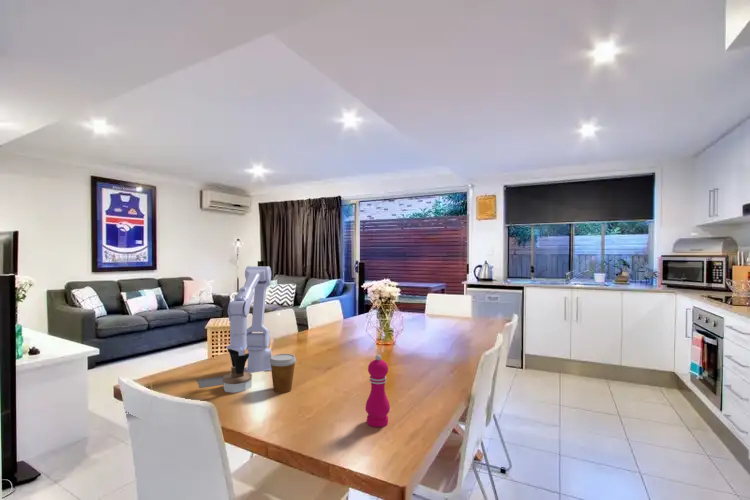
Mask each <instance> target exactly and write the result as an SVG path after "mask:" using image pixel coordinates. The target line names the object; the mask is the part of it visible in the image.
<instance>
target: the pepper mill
mask: <svg viewBox="0 0 750 500" xmlns="http://www.w3.org/2000/svg"><path fill="white" fill-rule="evenodd" d="M367 372H368V374H369V375H370V376H369V382H370V385H371V386H370V387H371V388H370V392H369V396H367V400H366V403H365V412H366V414H367V415H366V423H367V425H368V426H370V427H372V428H382V427H385V426H387V425H388V424H389V416H388V414H389V413H390V410H391V408H390V401H389V398H388V396H387V395H386V390H385V389H386V388H385V385H386V383H387V376H386V375H387V374H388V373H389V366H388V363H387V362H386V361H385V360H382V356H381V354H376V355H375V359H373V360H372V361H370V362H369V364H368V366H367Z"/></svg>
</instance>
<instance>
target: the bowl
mask: <svg viewBox="0 0 750 500" xmlns="http://www.w3.org/2000/svg"><path fill="white" fill-rule="evenodd" d="M252 380H253V379H251V380H249V381H247V382H244V383H239V384H227V383H224V385H223V389H224V392H225V393H234V394H235V393H241V392H246V391H248V390H249V389H251V388H252Z"/></svg>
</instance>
